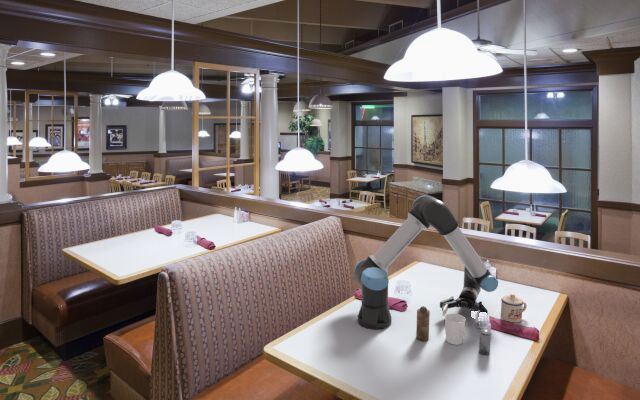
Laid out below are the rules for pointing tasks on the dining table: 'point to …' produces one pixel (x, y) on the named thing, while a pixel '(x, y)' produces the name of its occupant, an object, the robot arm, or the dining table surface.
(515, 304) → the teacup with lid
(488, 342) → the salt shaker
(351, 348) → the dining table surface
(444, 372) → the dining table surface
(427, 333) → the pepper mill
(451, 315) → the white cup
